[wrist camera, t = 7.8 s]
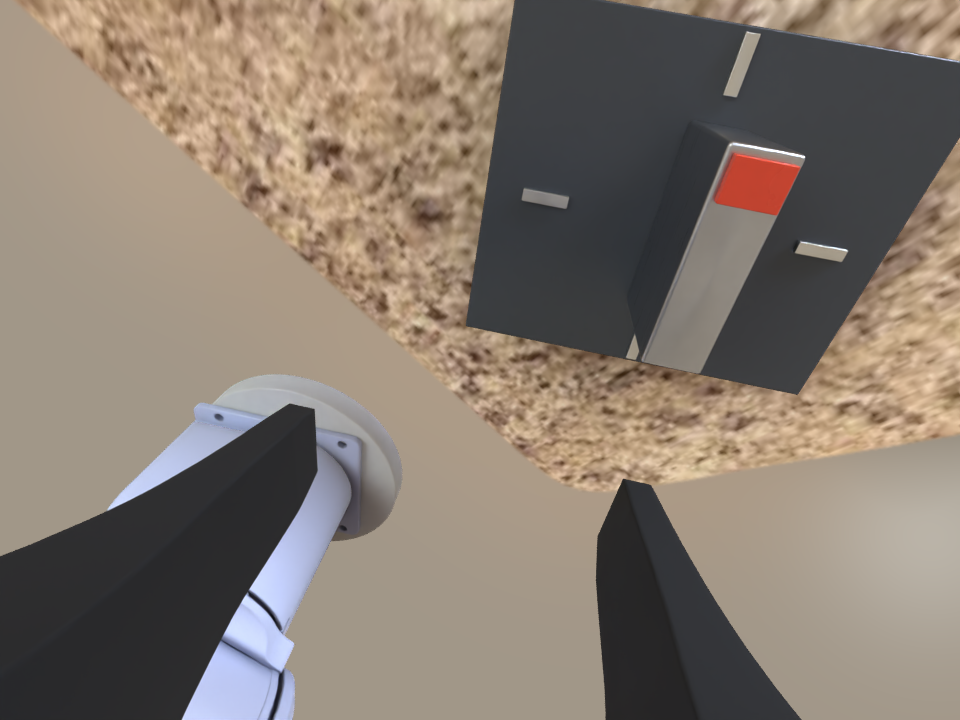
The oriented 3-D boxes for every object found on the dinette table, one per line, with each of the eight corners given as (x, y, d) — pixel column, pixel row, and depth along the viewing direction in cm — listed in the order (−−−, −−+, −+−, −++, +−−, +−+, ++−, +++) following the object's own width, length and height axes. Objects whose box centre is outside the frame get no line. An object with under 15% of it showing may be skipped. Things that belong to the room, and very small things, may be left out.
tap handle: (673, 309, 16) (702, 381, 13) (625, 299, 16) (641, 368, 13) (748, 130, 13) (813, 157, 10) (689, 119, 13) (733, 142, 10)
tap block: (478, 293, 20) (464, 328, 18) (525, -3, 15) (516, -16, 12) (768, 352, 20) (799, 398, 17) (927, 66, 14) (1009, 68, 12)
